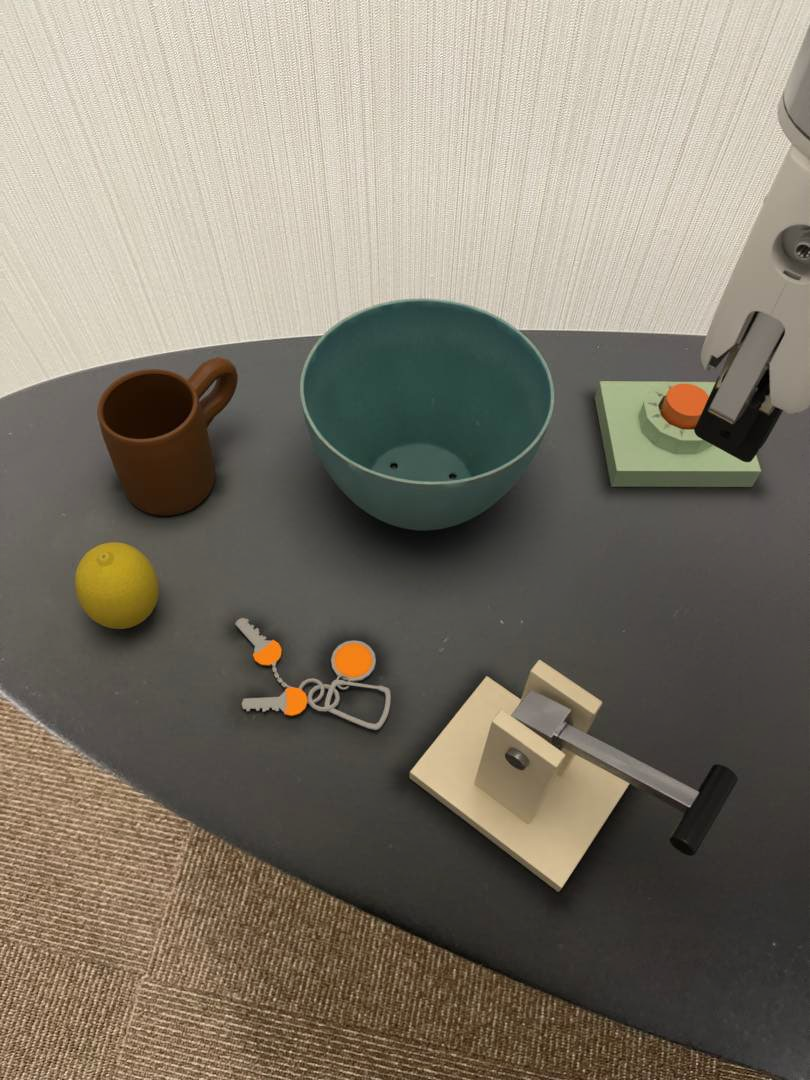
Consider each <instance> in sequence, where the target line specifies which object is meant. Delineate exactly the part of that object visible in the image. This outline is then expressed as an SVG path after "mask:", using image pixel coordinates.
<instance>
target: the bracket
mask: <svg viewBox="0 0 810 1080" xmlns="http://www.w3.org/2000/svg"><path fill="white" fill-rule="evenodd" d="M531 689H532V690H534V691H536V692H538V693H540V694H542V695H544V696H546V697H548V698H550V699H552V700H554V701H556V702H558V703H560V704H562V705H564V706H566V707H568V708H570V709H571V710H572V717H573V725H574V727H576V728H577V729H579V730H581V731H583V732H585V733H587V734H588V732H589V730H590V728H591V726H592V724H593V722H594V721H595V719H596V717H597V715H598V713H599V711H600V709H601V707H602V705H603V701H602V700H601V699H599V698H598V697H596V696H594V695H593V694H592V693H590V692H589V691H587V690H586V689H585V688H583V687H582V686H579V685H578V684H576V682H574V681H572V680H571V679H569V678H568V677H566V676H565V675H563V674H562V673H560V672H559V671H557V670H556V669H555V668H553V667H551V666H550V665H548V664H547V663H546V662H544V661H542V660H541V659H538V660H537V662H536V663H535V664H534V665H533V666H532V668H531V669H530V671H529V674H528V677H527V679H526V683H525V686H524V689H523V692H522V694H521V698H519V697H518V696H516V695H515V694H513V693H512V692H511V691H509V690H508V689H506V688H505V687H504V686H502V685H501V684H499V683H498V682H496V681H494V680H493V679H492V678H491V677H490V676H487V675H486V676H485V677H484V679H482V681H481V682H480V683H479V685H478V686H477V687H476V688H475V690H474V691H473V692H472V694H471V695H470V696H469V697H468V698H467V700H466V701H465V702H464V703H463V704H462V706H461V707H460V708H459V710H458V711H457V712H456V713H455V715H454V716H453V717H452V719H451V720H450V721H449V722H448V723H447V725H446V726H445V727H444V728H443V729H442V731H441V732H440V733H439V734H438V736H437V737H436V738H435V740H434V741H433V742H432V743H431V745H430V746H429V747H428V748H427V749H426V751H425V752H424V753H423V754H422V756H421V757H420V758H419V759H418V761H417V762H416V763H415V765H414V766H413V767H412V769H411V770H410V771H409V776H408V777H409V779H410V780H411V781H412V782H414V783H415V784H417V785H418V786H419V787H420V788H422V789H423V790H424V791H426V792H427V793H428V794H430V795H431V796H432V797H433V798H435V800H437V801H438V802H439V803H441V804H443V805H444V806H445V807H446V808H448V809H449V810H451V812H453V813H454V814H456V815H457V816H458V817H460V818H461V819H462V820H463V821H465V822H466V823H467V824H469V825H470V826H471V827H473V828H474V829H475V830H477V831H478V832H479V833H480V834H482V835H483V836H484V837H485V838H487V839H488V840H489V841H490V842H492V843H493V844H495V845H496V846H497V847H499V848H500V849H501V850H503V851H504V852H505V853H506V854H508V856H510V857H512V858H513V859H514V860H516V861H517V862H518V863H520V864H521V865H522V866H523V867H525V868H526V869H527V870H529V871H530V872H531V873H533V874H534V875H535V876H536V877H538V878H539V879H540V880H542V881H543V882H544V883H546V884H547V885H548V886H549V887H551V888H552V889H554V890H555V891H556V892H558V893H560V892H561V890H562V889H563V888H564V886H565V885H566V884H567V881H568V880H569V878H570V877H571V875H572V873H573V872H574V870H575V869H576V868H577V866H578V864H579V863H580V861H581V860H582V858H583V857H584V855H585V853H586V852H587V851H588V849H589V847H590V846H591V844H592V843H593V841H594V840H595V838H596V837H597V835H598V834H599V832H600V831H601V829H602V828H603V826H604V824H605V823H606V822H607V820H608V818H609V816H610V815H611V813H612V812H613V810H614V809H615V807H616V806H617V805H618V803H619V801H620V800H621V798H622V797H623V795H624V793H625V792H626V790H627V789H628V788H629V786H630V785H631V784H630V783H628V782H626V781H624V780H622V779H620V778H618V777H617V776H615V775H613V774H611V773H609V772H607V771H605V770H604V769H602V768H600V767H598V766H596V765H594V764H592V763H591V762H589V761H587V760H585V759H583V758H581V757H579V756H578V755H576V754H574V753H572V752H570V751H568V750H566V749H565V748H562V750H561V751H560V750H559V749H557V748H556V747H554V746H553V745H552V744H550V743H549V742H547V741H546V740H545V739H543V738H542V737H540V736H539V735H537V734H536V733H535V732H533V731H532V730H530V729H529V728H528V727H526V726H525V725H523V724H522V723H520V722H519V721H518V720H516V719H515V718H513V717H512V716H511V715H512V713H513V712H514V711H515V709H516V708H517V707H518V705H519V704H520V703H521V701H522V700H523V699H524V698H525V696H526V695H527V694H528V692H529V691H530V690H531Z"/></svg>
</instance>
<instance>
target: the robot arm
mask: <svg viewBox="0 0 810 1080" xmlns="http://www.w3.org/2000/svg"><path fill="white" fill-rule="evenodd" d="M776 112H777V120H778V124H779V126H780V128H781V130H782V132H783V134H784V135H785V137H786V138H787V140H788V141H789V142H790V143H791V145H790V146H789V149H788V151H787V152H786V155H785V157H784V159H783V161H782V164H781V165H780V168H779V170H778V172H777V174H776V176H775V178H774V180H773V183H772V184H771V186H770V188H769V190H768V192H767V193H766V195H765V196H764V198H763V201H762V205H761V208H760V210H759V212H758V214H757V216H756V219H755V221H754V223H753V225H752V228H751V230H750V232H749V234H748V236H747V239H746V240H745V243H744V245H743V248H742V250H741V252H740V253H739V256H738V258H737V260H736V263H735V266H734V268H733V270H732V272H731V274H730V276H729V279H728V282H727V284H726V286H725V289H724V290H723V293H722V295H721V298H720V300H719V302H718V305H717V307H716V310H715V312H714V315H713V317H712V320H711V322H710V325H709V327H708V330H707V333H706V335H705V339H704V341H703V344H702V348H701V351H700V361H701V365H702V367H703V369H704V371H705V372H708V371H710V370H711V369H712V370H715V371H716V369H717V368H718V366H719V365H720V364H721V362H722V361H724V359H725V358H726V360H725V361H724V365H723V367H722V369H721V372H720V374H719V376H718V377H717V379H716V380H715V382H716V383H715V385H714V387H713V389H712V391H711V394H710V396H709V398H708V400H707V402H706V405H705V407H704V409H703V411H702V414H701V416H700V418H699V420H698V422H697V425H696V427H695V429H694V432H695V434H696V435H697V436H698V437H699V438H701V439H703V440H705V441H706V442H708V443H710V444H712V445H714V446H716V447H717V448H719V449H721V450H723V451H725V452H727V453H728V454H730V455H732V456H734V457H736V458H738V459H739V460H741V461H743V462H751V461H752V460H753V458H754V457H755V456H757V455H758V453H759V451H760V449H762V447H763V446H764V444H765V443H766V442H767V440H768V439H769V437H770V435H771V433H772V432H773V430H774V428H775V426H776V424H777V422H778V421H779V419H780V417H781V415H782V413H783V412H784V413H785V414H788V415H794V414H798V413H801V412H804V411H805V410H807V409H808V408H809V407H810V23H809V24H808V26H807V29H806V32H805V34H804V37H803V40H802V42H801V44H800V47H799V50H798V51H797V55H796V58H795V60H794V63H793V65H792V67H791V70H790V73H789V76H788V78H787V81H786V83H785V87H784V89H783V90H782V93H781V96H780V99H779V101H778V104H777V111H776ZM726 356H727V357H726Z"/></svg>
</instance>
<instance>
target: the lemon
mask: <svg viewBox="0 0 810 1080" xmlns="http://www.w3.org/2000/svg"><path fill="white" fill-rule="evenodd" d="M74 585H75V593H76V598H77V600H78V602H79V604H80V606H81V608H82V610H83V611H84V613H86V614H87V616H88V617H89V618H90V619H91V620H93V621H94V622H96V623H97V624H99V625H101V626H102V627H105V628H109V629H114V630H115V629H116V630H124V629H130V628H132V627H135V626H138V625H140V624H141V623H143V622H144V621H145V620H146V619H147V618H148V617H149V616H150V615H151V614H152V613H153V610H154V609H155V608H156V605H157V603H158V599H159V594H160V591H159V589H160V588H159V578H158V576H157V573H156V571H155V568H154V566H153V565H152V563H151V562H150V561H149V558H147V557H146V556H145V555H144V553H142V552H141V551H140V550H139V549H137V548H135V547H134V546H132V545H130V544H128V543H123V542H116V541H114V542H105V543H101V544H99V545H96V546H95V547H92V548H91V549H89V550H88V551H87V552H86V553H85V555H83V556H82V558H81V559H80V561H79V563H78V565H77V568H76V572H75V576H74Z"/></svg>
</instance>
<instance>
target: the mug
mask: <svg viewBox="0 0 810 1080" xmlns="http://www.w3.org/2000/svg"><path fill="white" fill-rule="evenodd" d="M238 379H239V378H238V372H237V367H236V365H234V364H233V362H232V361H230V359H229V358H228V359H227V358H225V357H220V356H217V357H213V358H209V359H208V360H206V361H204V362H203V363H201V364H200V365H199V366H198V367H197V368H196V369H195V371H194V372H193V373H192V374H191V375H190V376H189V378H188V379H187V378H185V377H184V376H183V375H180V374H178V373H177V372H174V371H170V370H166V369H159V368H150V369H149V368H147V369H141V370H140V369H139V370H136V371H133V372H130V373H127V374H125V375H123V376H121V377H119V378H118V379H116V380H115V381H113V382H112V383H111V384H110V385H108V387H107V388H106V389H105V390H104V391H103V392H102V394H101V396H100V399H99V401H98V404H97V409H96V410H97V412H96V413H97V419H98V422H99V427H100V432H101V435H102V438H103V441H104V444H105V447H106V450H107V452H108V454H109V458H110V460H111V463H112V466H113V468H114V470H115V473H116V475H117V478H118V481H119V484H120V486H121V489H122V491H123V492H124V494H125V496H126V498H127V500H128V501H129V502H130V503H131V504H132V505H133V506H134V507H136V508H137V509H138V510H140V511H142V512H145V513H147V514H150V515H155V516H162V517H163V516H164V517H165V516H175V515H179V514H183V513H186V512H188V511H190V510H192V509H194V508H196V507H197V506H199V505H200V504H201V503H203V501H204V500H205V499H206V498H207V497H208V496H209V495H210V493H211V491H212V489H213V487H214V484H215V480H216V466H215V460H214V456H213V451H212V446H211V440H210V436H209V432H208V428H209V426H210V425H211V424H212V422H213V420H214V419H215V418H216V417H217V415H219V414H220V413H221V412H222V411H223V410H224V409H225V408H226V407H227V406H228V405H229V403H230V402H231V400H232V398H233V397H234V395H235V393H236V389H237V386H238V381H239V380H238ZM214 382H215V384H214ZM213 384H214V386H213V388H212V389H211V391H210V392H209V393H208V394H207V395H206V396H204V394H205V393H206V392H207V391H208V390H209V389H210V387H211V386H212V385H213ZM203 396H204V397H203ZM202 397H203V398H202ZM201 398H202V399H201ZM200 399H201V400H200Z"/></svg>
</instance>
